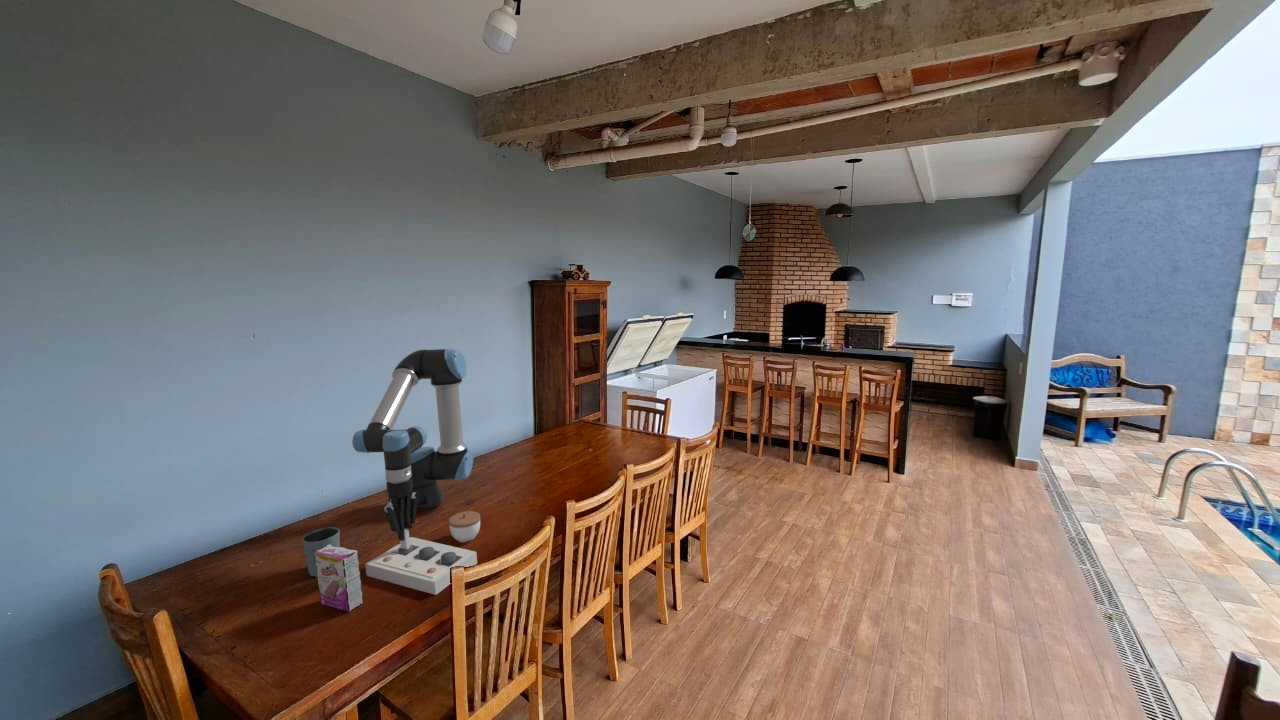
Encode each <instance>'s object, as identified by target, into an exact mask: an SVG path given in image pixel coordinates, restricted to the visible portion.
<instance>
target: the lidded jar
mask: <svg viewBox="0 0 1280 720" xmlns="http://www.w3.org/2000/svg"><path fill="white" fill-rule="evenodd" d="M448 526H449V531H450V532H449V533H450V535H451V536H452V538H453V539H455V540H456V541H457V542H458V541H459V543H468V542H471V541H473V540H474V539H475V538H476V536H477V535H478V534H479V532H480V528H481V514H480V513H479V512H477V511H474V510H473V511H472V510H471V511H468V510H467V511H460V512H457V513H455V514H453V515H451V516H450V518H448ZM470 540H471V541H470ZM467 541H468V542H467Z"/></svg>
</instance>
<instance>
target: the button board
mask: <svg viewBox="0 0 1280 720" xmlns="http://www.w3.org/2000/svg"><path fill="white" fill-rule="evenodd" d="M409 538H410V545H412V546H413V551H412V552H411V553H409V554H407V555H406V556H404V555H400V554H399V553H398V549H399V548H400V543H399V544H396V545H394V546H393V547H392V548H390V549H389V550H386V551H384V552H383V553H382V554H380V555H378V556H376V557H374V558H373V559H370V561H368V562H366V563H365V574H366V575H365V576H367V577H370V578H374V579H377V580H381V581H385V582H387V581H388V582H387V583H392V584H395V585H399V586H403V587H406V588H410V589H413V590H416V591H420V592H423V593H428V594H431V595H434V596H436V595H438V594H439V593H440V592H442V591H443V590H445V589H446V588H447V587H448V586H449V585H451V584H452V583H450V568H451V567H455V566H464V567H469V566H473V565H474V566H476V565H477V564H478V556H477V555H478V554H477V551H475V550H469V549H465V548H461V547H457V546H453V545H447V544H443V543H439V542H435V541H430V540H427V539H421V538H418V537H413V536H410V537H409ZM425 547H433V548H434V557H432V558H431V559H429V560H428V561H424V560H420V558H419V550H420V549H422V548H425ZM447 552H455V553H456V562H455V563H454V564H452V565H451V566H450V567H448V566H444V565H441V555H442V554H444V553H447ZM474 566H473V567H474Z"/></svg>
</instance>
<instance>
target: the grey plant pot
mask: <svg viewBox="0 0 1280 720" xmlns="http://www.w3.org/2000/svg"><path fill="white" fill-rule="evenodd" d="M340 534H341V531H340V528H338V527H334V526H333V527H332V526H331V527H330V526H329V527H321V528H318V529H314V530H312V531H309V532H308V533H306V534H304V536H303V537H302V538H301V541H302V545H303V549H304V555H305V560H306V565H307V569H308V570H307V571H308V574H309V575H310V576H311V577H312V576H315V577H314V578H318V577H317V570H316V562H315V554H314V553H315V552H316V551H318V550H320V549H322V548H323V547H325V546H327V545H334V546H338V547H341V546H340V545H341V543H340V542H341V541H340V537H341V535H340Z"/></svg>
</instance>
